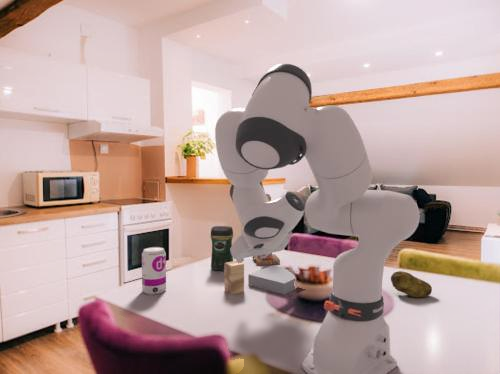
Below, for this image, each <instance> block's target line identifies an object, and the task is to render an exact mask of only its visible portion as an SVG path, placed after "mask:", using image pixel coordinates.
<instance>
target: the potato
mask: <svg viewBox="0 0 500 374" xmlns="http://www.w3.org/2000/svg"><path fill="white" fill-rule="evenodd" d="M390 281H391V283H392V287H393V288H394V289H395V290H396V291H398V292H401V293H403V294H405V295H407V296H408V297H412V298H425V297H429V296H430V295H431V294H432V293H433V292H432V290H433V289H432V286H431V284H430V283H428V282H427V281H425V280H423V279H421V278H419V277H416V276H414V275H412V274H411V273H410V272H407V271H401V270H399V271H394V272H393V273H392V275H391V276H390Z"/></svg>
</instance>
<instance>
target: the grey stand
mask: <svg viewBox="0 0 500 374" xmlns="http://www.w3.org/2000/svg"><path fill="white" fill-rule="evenodd" d="M283 267H284V266H283ZM283 267H282V266H280V265H279V266H278V265H274V264H273V265H272V264H271V265H269V266H267V267H264V268H262V269H260V270H259V269H258V270H257V271H255V272H251V273H249V274H248V286H251V287H255V288H259V289H261V290H266V291H268V292H273V293H277V294H280V295H283V296H285V295H287V294H289V293H291V292H292V291H295V290H296V289H295V286H294V281H295V276H294V275H293V274H292V273H291V272H289V271H288V270H286V269H284V268H285V267H284V268H283ZM293 271H294V272H295V273H297V274H298V273H299V271H300V270H298V269H293Z"/></svg>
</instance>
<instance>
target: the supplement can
mask: <svg viewBox="0 0 500 374" xmlns="http://www.w3.org/2000/svg"><path fill="white" fill-rule="evenodd" d="M166 256H167V254H166V251H165V248H164V247H160V246H152V247H147V248H143V251H142V253H141V282H142V283H141V284H142V285H141V286H142V287H141V289H142V290H141V291H142V292H143V293H144V294H146V295H152V296H153V295H159V294H162V293H163V292H165V291H166V289H167V257H166Z"/></svg>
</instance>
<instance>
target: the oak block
mask: <svg viewBox="0 0 500 374" xmlns="http://www.w3.org/2000/svg"><path fill="white" fill-rule="evenodd" d="M224 292H227V293H228V294H230V295H235V294H240V293H244V292H245V263H243V262H242V263H237V261H236V260H233V261H232V262H227V263H225V271H224Z"/></svg>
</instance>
